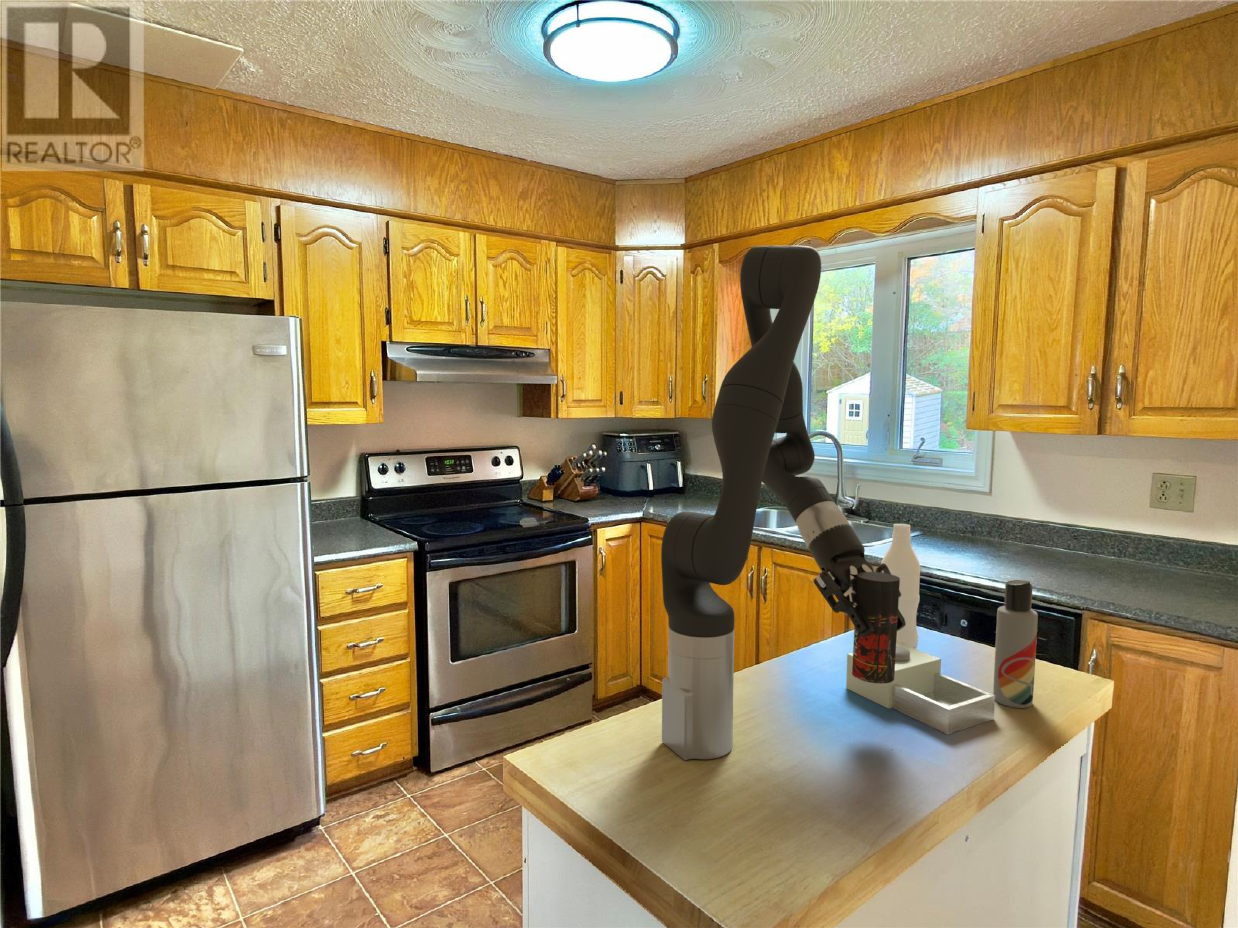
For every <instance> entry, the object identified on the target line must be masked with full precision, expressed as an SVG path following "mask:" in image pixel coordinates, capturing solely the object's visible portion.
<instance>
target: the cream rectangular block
mask: <svg viewBox="0 0 1238 928" xmlns="http://www.w3.org/2000/svg"><path fill="white" fill-rule="evenodd" d="M846 657H847V658H846V679H845V680H846V683H845V684H846V687H845V689H847V690H849V691H851V692H854V693H856V694H858V695H859V696H862V697H864V698H865V699H868V700H870V701H872V702H874V703H876V704H878V705H880V706H883V707H884V708H886V709H893V708H892V688H893V684H898V685H900V686H902V687H905V688H907V689H909V690H911V691H914V692H916V693H918V694H925V693H928V692H931V691H934V673H940V674H942V673H941V670H942V666H941V665H942V658H941V657H940V658H939V657H937V656H934V655H933V654H929V653H926V652H923V651H921V650H918V649H917V648H916V649H914V648H911V647H908V646H906V645H903V644H900V643H898V642H896V656H895V673H894V680H893V681H892V682H890V683H882V684H880V683H870V682H866V681H863V680H860V679H858V678H856V677H854V676H853V674H852V665H853V652H850V653H846Z"/></svg>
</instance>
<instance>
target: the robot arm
mask: <svg viewBox="0 0 1238 928" xmlns="http://www.w3.org/2000/svg"><path fill="white" fill-rule="evenodd" d="M821 259H822V258H821V256H820V254H819V252H818V250H817V249H815V248H814V247H812V246H808V245H807V246H806V245H756V246H753V247H751V248H750V249H748V250H747V252H746V254H745V255H744V257H743V259H742V261H741V262H742V263H741V266H740V275H739V282H740V283H739V284H740V293H741V301H742V306H743V311H744V316H745V321H746V326H747V331H748V336H749V340H750V341H749V342H750V345H751V347H750V348H749V350H747V351H746V352H745V353H744V354H743V355H742V356H741V357H740V358H739V359H738V360H737V361H736V362H735V363H734V364H733V365H732V366H731V367H730V369H729V370H728V371H727V373H726V374H725V375H724V377H723V380H722V382H721V386H720V388H719V392H718V395H717V399H716V401H715V405H714V408H713V413H712V417H711V432H712V436H713V441H714V442H713V443H714V445H715V449H716V451H717V455H718V459H719V463H720V467H721V473H722V476H721V477H722V483H721V489H720V495H719V499H718V504H717V507H716V510H715V513H714V514H710V513H704V512H697V511H681V512H678V513H676V514H675V515H673V516H672V517H671V518H670V520H668V522H667V524H666V526H665V529H664V532H663V534H662V540H661V547H660V548H661V549H660V551H661V553H660V557H661V558H660V559H661V560H660V563H661V577H662V578H661V579H662V581H661V582H662V598H663V599H662V600H663V601H662V602H663V607H664V609H665V611H666V614H667V619H668V620H667V621H668V624H667V625H668V631H667V632H668V633H667V634H668V638H667V639H668V640H667V644H668V646H667V649H668V650H667V653H668V655H667V677H663V678H662V681H661V687H662V688H661V692H662V693H661V742H662V743H663V744H664V745H666V746H667V747H668V748H669V749H670V750H671V751H673V752H674V753H675V754H676V755H678V756H679V757H680V758H681V759H682V760H684V761H688V760H693V759H694V760H712V759H718V758H721V757H724V756H726V755H727V754H728V753H730V752H731V751H732V749H733V745H734V744H733V743H734V741H733V740H734V734H733V733H734V677H735V676H734V675H735V673H734V670H735V669H734V668H735V667H734V665H735V663H734V662H735V661H734V660H735V659H734V658H735V657H734V656H735V611H734V608H733V607H732V605H730V604H729V603H728V602H727V601H726V600H724V598H723V597H721V596H720V595H719V594H717V592H716V591H715V590H714V588H713V587H712V585H711V584H714V585H718V586H727V585H730V584H732V583H734V582H735V581H736V580H737V579H738V578H739V577H740V575H741V573H742V572H743V569H744V567H745V566H746V565H745V564H746V563H747V559H748V557H749V556H748V555H749V553H750V547H751V544H752V537H753V531H754V526H755V521H756V514H757V510H758V509H757V508H758V502H759V497H760V493H761V492H760V491H761V486H762V483H763V485H765V486H766V487H767V488H768V489H769V491H771V492H772V493H773V494H774V495H775V496H776V497H777V498H778V499H779V500H780V501H781V502H782V503H783V504H784V505H785V507H786V509H787V510H788V512H789V514H790V516H791V517H792V519H793V521H794V522H795V524H796V526H797V529H798V531H799V533H800V534H799V535H800V536H801V539H802V540H803V542H804V543H805V545H806V547H807V549H808V550H809V553H810V554H811V556H812V557H813V559H814V561H815V563H816V564H817V566H818V568H819V570H820V571H821V572H820V573H819V574H817V576H816V577H815V578H814V579H813V583H814V585H815V587H816V588H817V589H818V591H819V592H820V594H821V595H822V597H823V599H825V602H827V604H828V605H829V607H830V608H831V610H832V611H833V612H834V613H836V614H838V613H840V612H841V613H844V614H845V615H846V616H848V617H849V619H850V620H851V622H852V625H853V626H854V627H855V628H856V630H857V631H858V632H859V633H860V634H861V636H862V637H866V636H869V635H870V634H871V633H872V632H874V627H873V625H872V624H871V622H870V620H869V619H868V617H867V615H866V613H865V612H864V610H863V609H862V608H859V606H860V604H859V599H858V597H857V574H858V573H861V572H879V573H887V574H891V573H890V571H889V569H888V567H887V565H886V564H884V563H882V564H881V563H880V564H879V565H878V566H876V565H875V566H874V565H872V564H871V563H870V562H869V561H868V560H867V559H866V557H865V552H866V551H865V550H866V549H865V547H864V544H863V543H862V541H861V540H860V538H859V537H858V535H857V533H856V532H855V530H854V528H853V526H851V524H850V522H849V521H848V519H847V517H846V516H845V514H844V513H843V512H842V511H843V510H841V509H840V508H839V507H838V505H837V504H836V503H835V501H834V499H833V498H832V496H831V494H830V492H829V491H828V490H827V488H826V486H825V485H824V483H823V482H822V481H821V480H820V479H819V477H816V476H799V475H803V474H805V473H807V472H808V471H810V470H811V468H812V467H813V464H814V463H815V457H816V456H815V450H814V446H813V444H812V442H811V439H810V436H809V433H808V430H807V425H806V422H805V418H804V404H803V403H804V397H803V395H804V393H803V392H804V390H803V388H804V387H803V381H802V380H803V379H802V376H801V374H800V371H799V369H798V367H797V364H796V363H795V362H794V361H795V358H796V357H795V356H796V354H797V350H798V347H799V344H800V341H801V339H802V335H803V333H804V331H805V327H806V326H807V323H808V319H809V316H810V313H811V312H812V308H813V306H814V303H815V300H816V297H817V294H818V290H819V287H820V281H821V275H822V260H821ZM771 310H777V314H776V315H775V318H774V320H772V319H773V318H772V314H771ZM775 434H785V436H781V437H778V438H775V439H774V437H775ZM900 596H901V593H900V591H899V597H900ZM835 598H836V599H837V600H836V599H835ZM905 625H906V623H905V619H904V617H903V616H902V614H901V613H900V611H899V609H898V621H897V631H899V630H900V629H902V628H903V627H904V626H905Z"/></svg>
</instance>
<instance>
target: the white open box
mask: <svg viewBox="0 0 1238 928" xmlns="http://www.w3.org/2000/svg"><path fill="white" fill-rule="evenodd" d="M995 704H996V700H995V695H993V693H991V692H987V691H985V690H983V689H980V688H978V687H975V686H973V685H970V684H967V683H966V682H963V681H960V680H958V679H956V678H952V677H950V676H948V675H945V674H943V673H934V691H931V692H928V693H925V694H918V693H916V692H914V691H911V690H909V689H907V688H905V687H902V686H900V685H898V684H893V688H892V708H891V709H893V710H896V711H897V712H900V713H902V714H904V715H906V716H908V717H911V718H912V719H915V720H916V721H918V722H921V723H923V724H924V725H927V726H929V727H931V728H933V729H934V730H937V729H938V730H937V731H939V730H940V732H941V733H943V732H944V733H943V734H946V735H952V734H954V733H956V732H959V731H963V730H965V729H968V728H972V727H974V726H977V725H980V724H983V723H986V722H987V723H988V722H989V721H992V720H995ZM953 732H954V733H953Z"/></svg>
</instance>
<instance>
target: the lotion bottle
mask: <svg viewBox="0 0 1238 928" xmlns="http://www.w3.org/2000/svg"><path fill="white" fill-rule="evenodd" d="M1004 587H1005V588H1004V605H1002V606H999V607H998V608H997V612H996V629H995V630H996V631H995V633H996V634H995V648H994V649H995V651H994V667H993V668H994V669H993V685H992V686H993V688H992V690H993V691H992V694H993V695H995V702H997V703H1000V704H1001V705H1004V706H1007V707H1011V708H1017V709H1026V708H1030V707H1031V706H1032V705H1033V701H1034V693H1035V692H1034V690H1035V676H1036V673H1035V672H1036V670H1035V669H1036V654H1037V636H1038V618H1039V615H1038V612H1037V611H1035V610H1034V609H1032V601H1033V589H1034V588H1033V585H1032V583H1031V581H1029V580H1021V579H1012V580H1008V581H1007V582H1005V584H1004Z"/></svg>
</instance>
